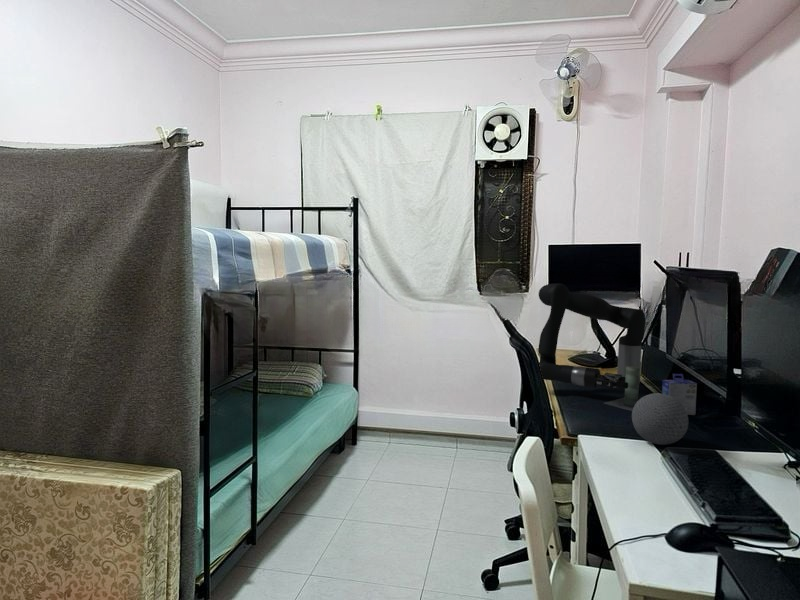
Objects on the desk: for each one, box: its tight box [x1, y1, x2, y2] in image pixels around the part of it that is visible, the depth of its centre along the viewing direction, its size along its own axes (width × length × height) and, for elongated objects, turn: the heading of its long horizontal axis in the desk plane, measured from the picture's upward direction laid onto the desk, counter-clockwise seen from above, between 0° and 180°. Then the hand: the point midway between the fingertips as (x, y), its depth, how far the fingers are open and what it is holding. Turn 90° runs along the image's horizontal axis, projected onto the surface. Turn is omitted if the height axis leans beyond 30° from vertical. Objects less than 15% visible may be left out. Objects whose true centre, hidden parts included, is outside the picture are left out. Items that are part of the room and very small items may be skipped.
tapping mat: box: [603, 397, 634, 412], centre depth 185 cm, size 14×14×1 cm
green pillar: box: [623, 366, 640, 407], centre depth 185 cm, size 5×5×14 cm
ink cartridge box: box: [661, 373, 698, 416], centre depth 176 cm, size 10×6×14 cm, turn 89°
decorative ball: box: [631, 392, 689, 446], centre depth 149 cm, size 15×15×15 cm
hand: (630, 383), depth 185 cm, fingers open, 8 cm apart
